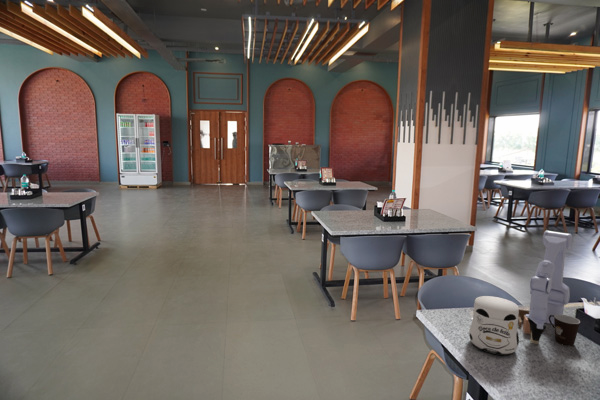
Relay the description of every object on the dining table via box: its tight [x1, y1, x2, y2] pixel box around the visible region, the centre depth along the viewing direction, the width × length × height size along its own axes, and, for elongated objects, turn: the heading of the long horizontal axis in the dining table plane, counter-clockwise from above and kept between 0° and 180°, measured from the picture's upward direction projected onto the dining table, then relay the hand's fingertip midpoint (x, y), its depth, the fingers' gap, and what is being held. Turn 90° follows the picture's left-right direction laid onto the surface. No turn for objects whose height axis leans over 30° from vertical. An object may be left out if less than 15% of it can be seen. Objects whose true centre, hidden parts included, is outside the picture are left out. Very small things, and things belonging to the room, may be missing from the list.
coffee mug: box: [549, 314, 581, 347], centre depth 157 cm, size 12×9×10 cm
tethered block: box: [522, 315, 540, 345], centre depth 161 cm, size 14×5×6 cm, turn 157°
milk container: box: [468, 295, 520, 356], centre depth 150 cm, size 17×17×18 cm
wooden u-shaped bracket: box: [517, 308, 529, 329], centre depth 172 cm, size 9×8×5 cm
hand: (534, 338), depth 156 cm, fingers open, 3 cm apart
